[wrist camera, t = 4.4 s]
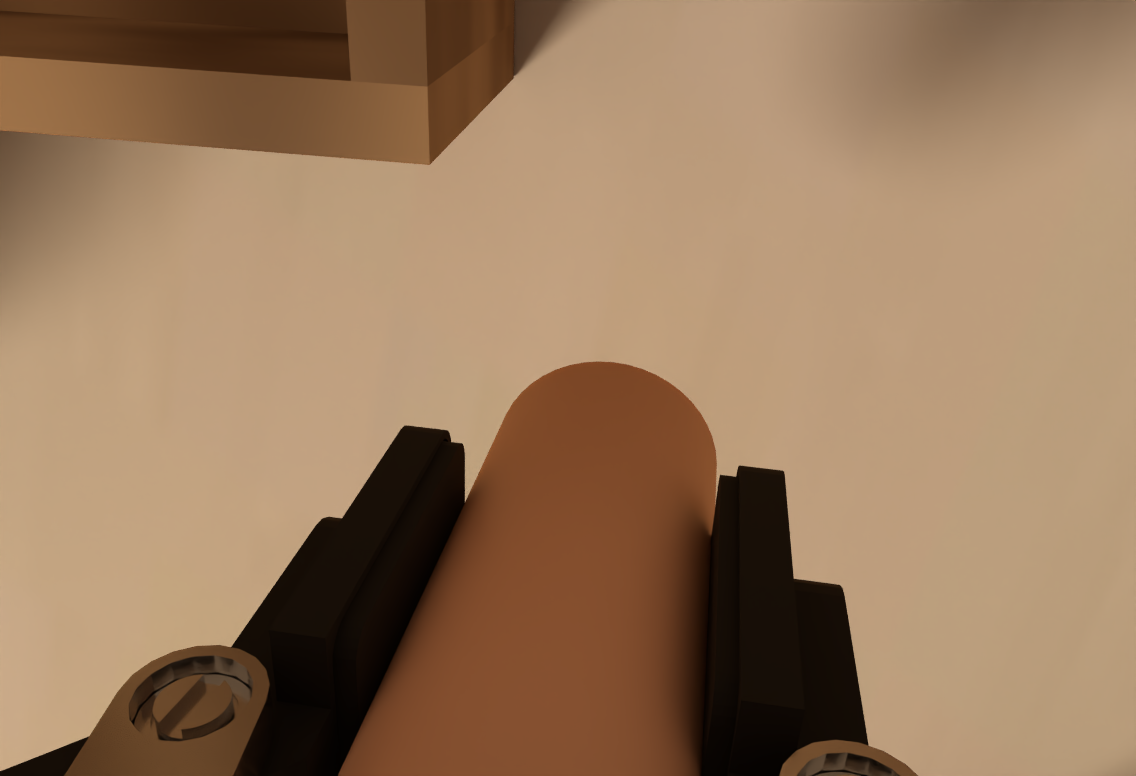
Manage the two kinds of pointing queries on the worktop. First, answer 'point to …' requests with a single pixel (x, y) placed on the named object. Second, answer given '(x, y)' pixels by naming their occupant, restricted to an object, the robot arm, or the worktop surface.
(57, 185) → the worktop surface
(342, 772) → the peg
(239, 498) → the worktop surface
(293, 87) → the bore box
